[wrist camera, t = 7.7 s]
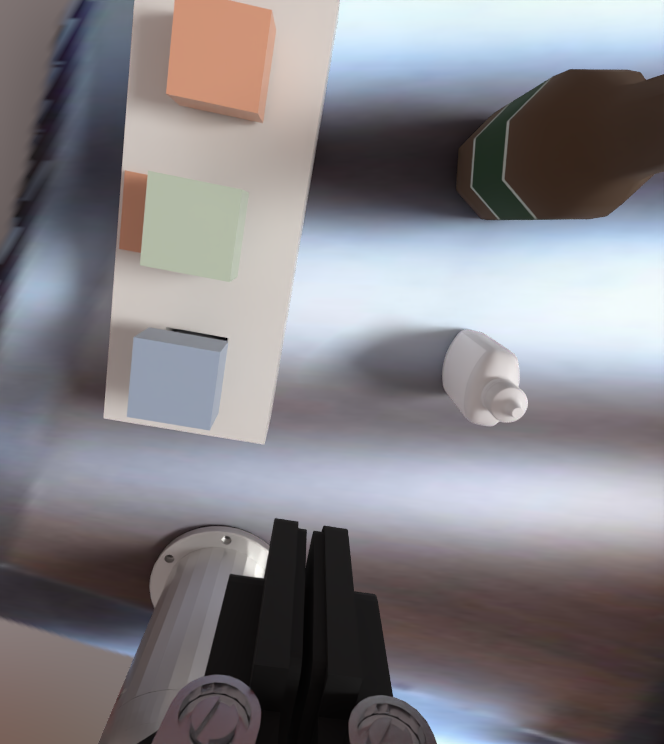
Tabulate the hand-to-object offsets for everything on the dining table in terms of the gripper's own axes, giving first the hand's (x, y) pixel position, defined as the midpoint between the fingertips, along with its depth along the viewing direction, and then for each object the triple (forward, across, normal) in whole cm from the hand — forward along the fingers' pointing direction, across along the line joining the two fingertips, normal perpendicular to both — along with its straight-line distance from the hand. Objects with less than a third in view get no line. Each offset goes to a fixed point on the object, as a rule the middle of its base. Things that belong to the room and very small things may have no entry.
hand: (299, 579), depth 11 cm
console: (+31, +8, -6) cm, 33 cm away
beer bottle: (+31, -12, -14) cm, 36 cm away
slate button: (+29, +8, +4) cm, 30 cm away
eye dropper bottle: (+31, -13, +1) cm, 34 cm away
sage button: (+29, +8, -6) cm, 30 cm away
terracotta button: (+31, +8, -16) cm, 35 cm away
